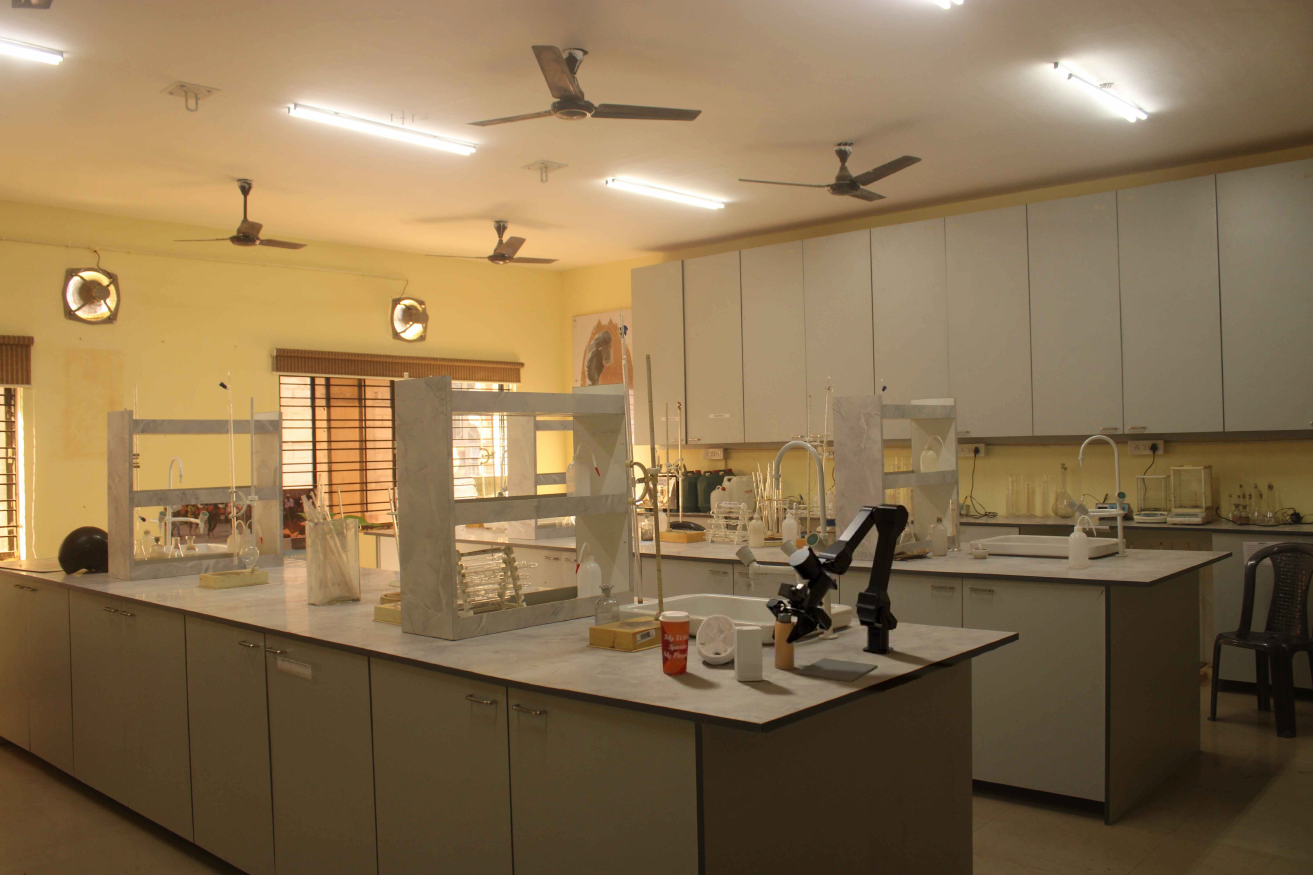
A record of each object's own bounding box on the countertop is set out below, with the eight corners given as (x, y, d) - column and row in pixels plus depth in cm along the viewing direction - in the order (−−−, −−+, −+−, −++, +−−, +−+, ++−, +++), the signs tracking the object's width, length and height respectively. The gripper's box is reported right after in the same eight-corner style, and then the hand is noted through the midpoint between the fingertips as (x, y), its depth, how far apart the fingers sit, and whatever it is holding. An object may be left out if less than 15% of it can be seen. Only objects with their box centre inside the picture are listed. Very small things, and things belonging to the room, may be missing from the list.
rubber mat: (823, 659, 243) (823, 657, 243) (877, 666, 236) (877, 664, 236) (795, 673, 228) (795, 672, 228) (851, 681, 220) (851, 680, 220)
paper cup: (663, 676, 224) (663, 616, 224) (655, 668, 232) (655, 611, 232) (695, 674, 226) (695, 615, 227) (685, 667, 234) (686, 609, 234)
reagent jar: (779, 663, 238) (779, 611, 238) (797, 666, 235) (797, 613, 235) (771, 667, 234) (771, 614, 234) (789, 670, 231) (789, 616, 231)
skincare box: (759, 676, 225) (759, 625, 225) (763, 681, 220) (763, 628, 220) (733, 677, 224) (733, 625, 224) (736, 682, 220) (736, 629, 220)
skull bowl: (741, 647, 250) (740, 612, 244) (737, 687, 238) (735, 651, 232) (702, 645, 252) (699, 610, 246) (695, 684, 240) (692, 649, 234)
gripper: (771, 566, 245) (738, 614, 238) (823, 575, 229) (789, 626, 223) (794, 594, 249) (761, 642, 243) (846, 605, 234) (813, 655, 227)
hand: (780, 640), depth 234 cm, fingers closed on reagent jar, 5 cm apart
